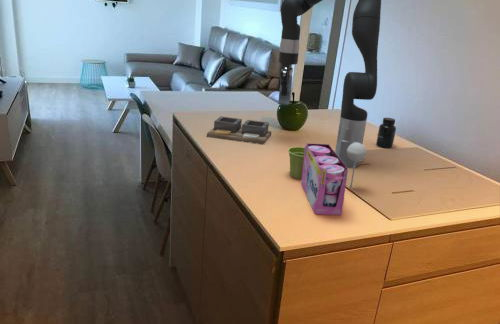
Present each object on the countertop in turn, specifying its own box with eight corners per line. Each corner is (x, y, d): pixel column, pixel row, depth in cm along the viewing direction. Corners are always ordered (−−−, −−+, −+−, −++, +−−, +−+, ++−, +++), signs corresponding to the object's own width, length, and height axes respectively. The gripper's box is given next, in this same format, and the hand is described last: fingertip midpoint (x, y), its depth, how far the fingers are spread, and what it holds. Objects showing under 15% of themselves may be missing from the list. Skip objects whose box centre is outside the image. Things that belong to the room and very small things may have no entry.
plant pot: (315, 173, 153) (318, 149, 150) (311, 183, 144) (314, 157, 141) (288, 169, 155) (290, 145, 152) (282, 178, 146) (285, 153, 143)
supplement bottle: (374, 146, 188) (379, 118, 184) (377, 142, 194) (382, 115, 190) (390, 149, 186) (396, 121, 182) (393, 145, 191) (399, 118, 187)
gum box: (343, 218, 122) (351, 171, 117) (315, 217, 121) (321, 170, 117) (324, 184, 144) (329, 144, 140) (300, 183, 144) (304, 142, 139)
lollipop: (347, 182, 146) (353, 139, 141) (363, 188, 143) (371, 143, 138) (337, 187, 142) (344, 142, 137) (354, 193, 138) (362, 147, 133)
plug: (288, 105, 180) (290, 77, 176) (278, 103, 181) (280, 76, 177) (289, 103, 183) (292, 76, 180) (279, 102, 184) (282, 75, 180)
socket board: (263, 144, 180) (265, 131, 178) (206, 136, 184) (207, 123, 182) (271, 134, 194) (272, 122, 192) (218, 127, 199) (218, 115, 197)
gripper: (296, 53, 168) (291, 98, 173) (301, 50, 181) (296, 92, 187) (276, 51, 169) (272, 96, 175) (282, 48, 182) (278, 90, 188)
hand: (284, 94), depth 181 cm, fingers closed on plug, 4 cm apart
